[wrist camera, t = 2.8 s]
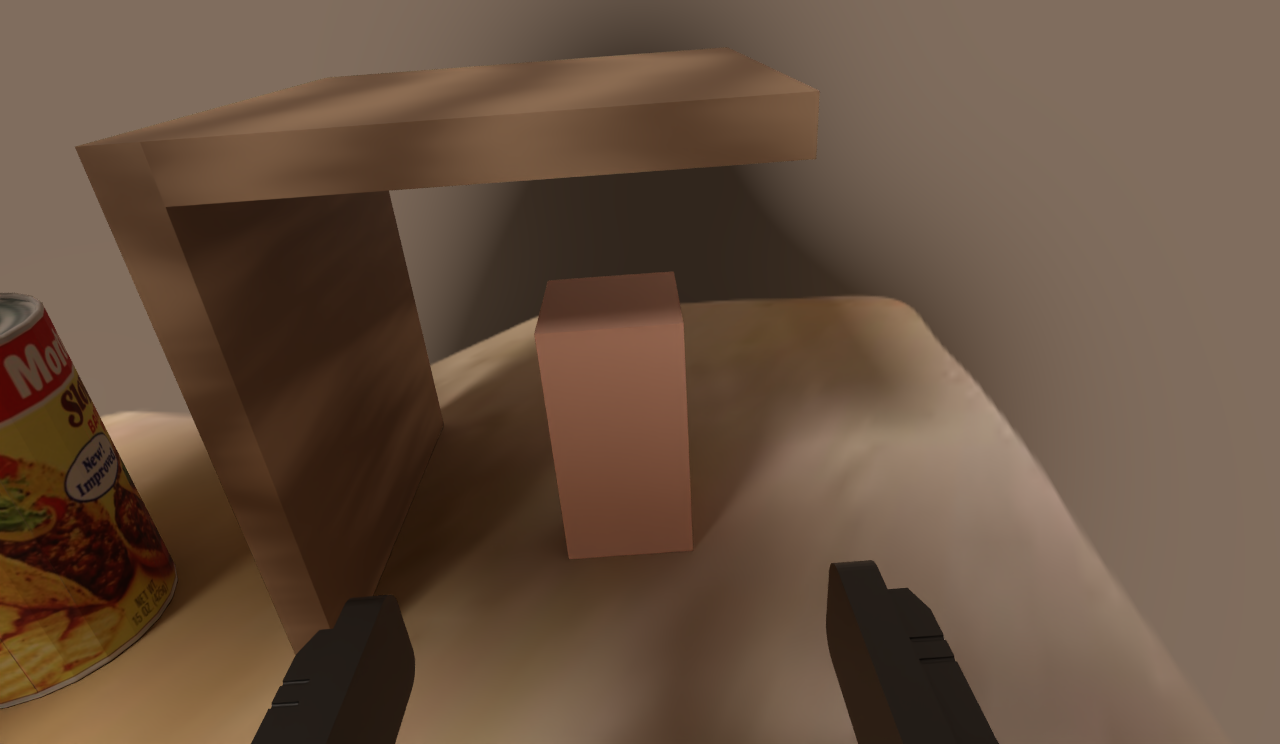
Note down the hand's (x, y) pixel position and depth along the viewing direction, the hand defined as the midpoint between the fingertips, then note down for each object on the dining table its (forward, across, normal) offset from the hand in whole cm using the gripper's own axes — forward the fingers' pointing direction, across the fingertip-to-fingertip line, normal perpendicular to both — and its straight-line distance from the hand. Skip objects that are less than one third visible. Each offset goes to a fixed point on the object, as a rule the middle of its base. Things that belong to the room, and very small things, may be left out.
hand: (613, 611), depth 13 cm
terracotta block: (+15, 0, +10) cm, 17 cm away
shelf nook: (+15, +3, +9) cm, 18 cm away
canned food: (+10, +22, +10) cm, 27 cm away
